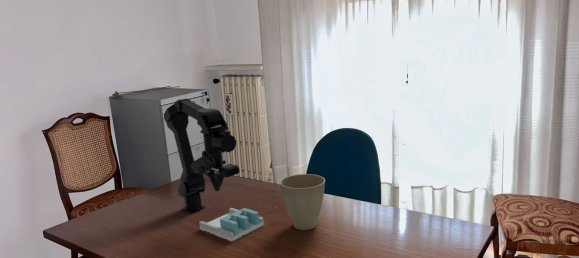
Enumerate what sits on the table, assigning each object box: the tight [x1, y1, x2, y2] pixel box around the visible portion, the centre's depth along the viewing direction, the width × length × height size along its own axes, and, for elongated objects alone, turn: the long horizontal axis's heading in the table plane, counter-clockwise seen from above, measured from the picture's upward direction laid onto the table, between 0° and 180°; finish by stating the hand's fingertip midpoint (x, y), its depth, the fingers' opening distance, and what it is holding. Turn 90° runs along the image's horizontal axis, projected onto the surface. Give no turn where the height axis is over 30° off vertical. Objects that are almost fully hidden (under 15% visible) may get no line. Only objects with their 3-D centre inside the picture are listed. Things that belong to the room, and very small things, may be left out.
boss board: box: [199, 207, 265, 242], centre depth 155 cm, size 16×15×6 cm
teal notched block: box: [220, 207, 260, 235], centre depth 152 cm, size 7×11×4 cm, turn 139°
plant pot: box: [279, 173, 326, 231], centre depth 152 cm, size 15×15×16 cm
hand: (217, 190), depth 157 cm, fingers closed
